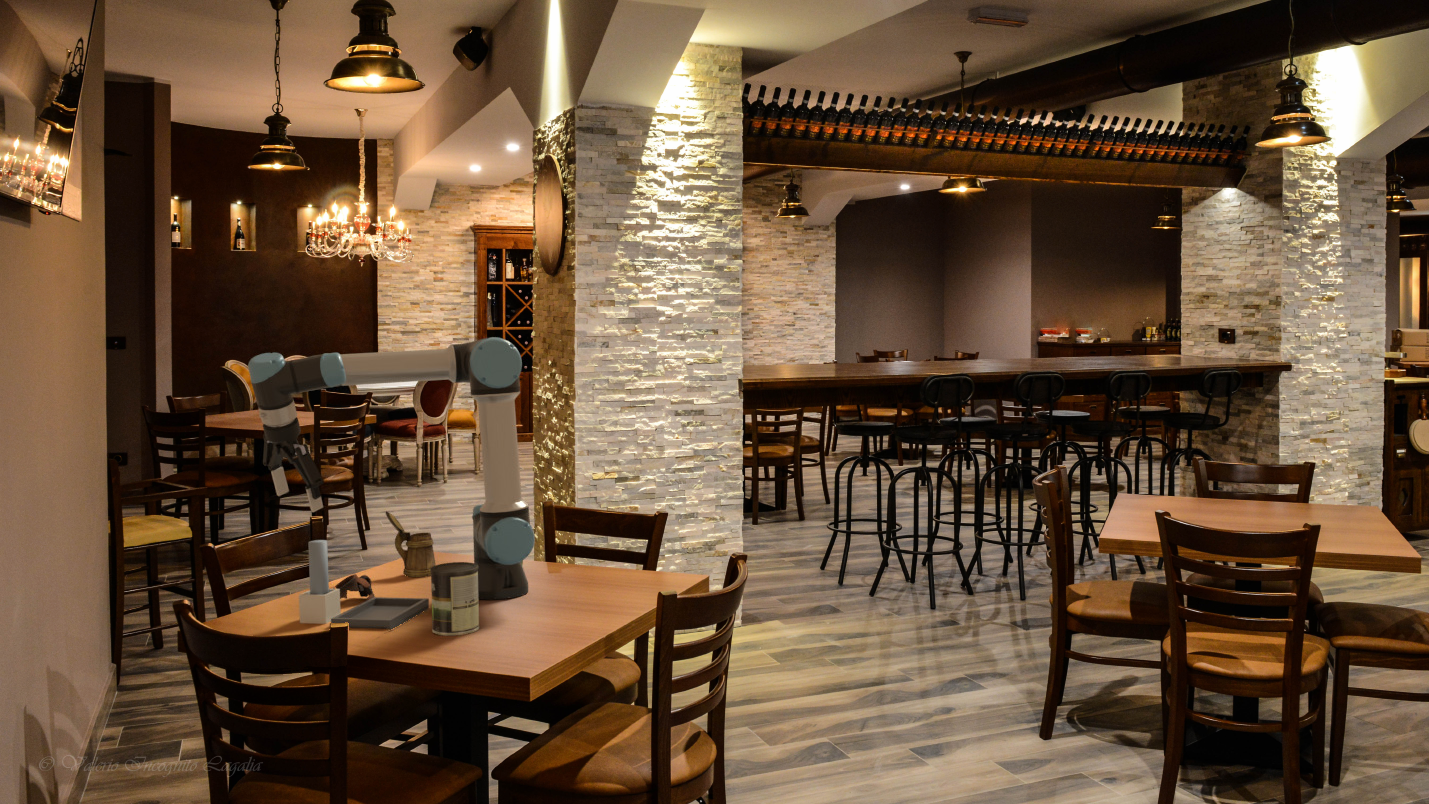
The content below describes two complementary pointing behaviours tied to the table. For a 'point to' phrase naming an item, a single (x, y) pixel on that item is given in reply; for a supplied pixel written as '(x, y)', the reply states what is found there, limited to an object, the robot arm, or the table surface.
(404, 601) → the tray
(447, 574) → the coffee can
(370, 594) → the brown curved piece
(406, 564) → the wooden mug
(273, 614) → the table surface
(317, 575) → the dowel
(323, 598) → the cube pedestal base
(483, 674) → the table surface
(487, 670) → the table surface
